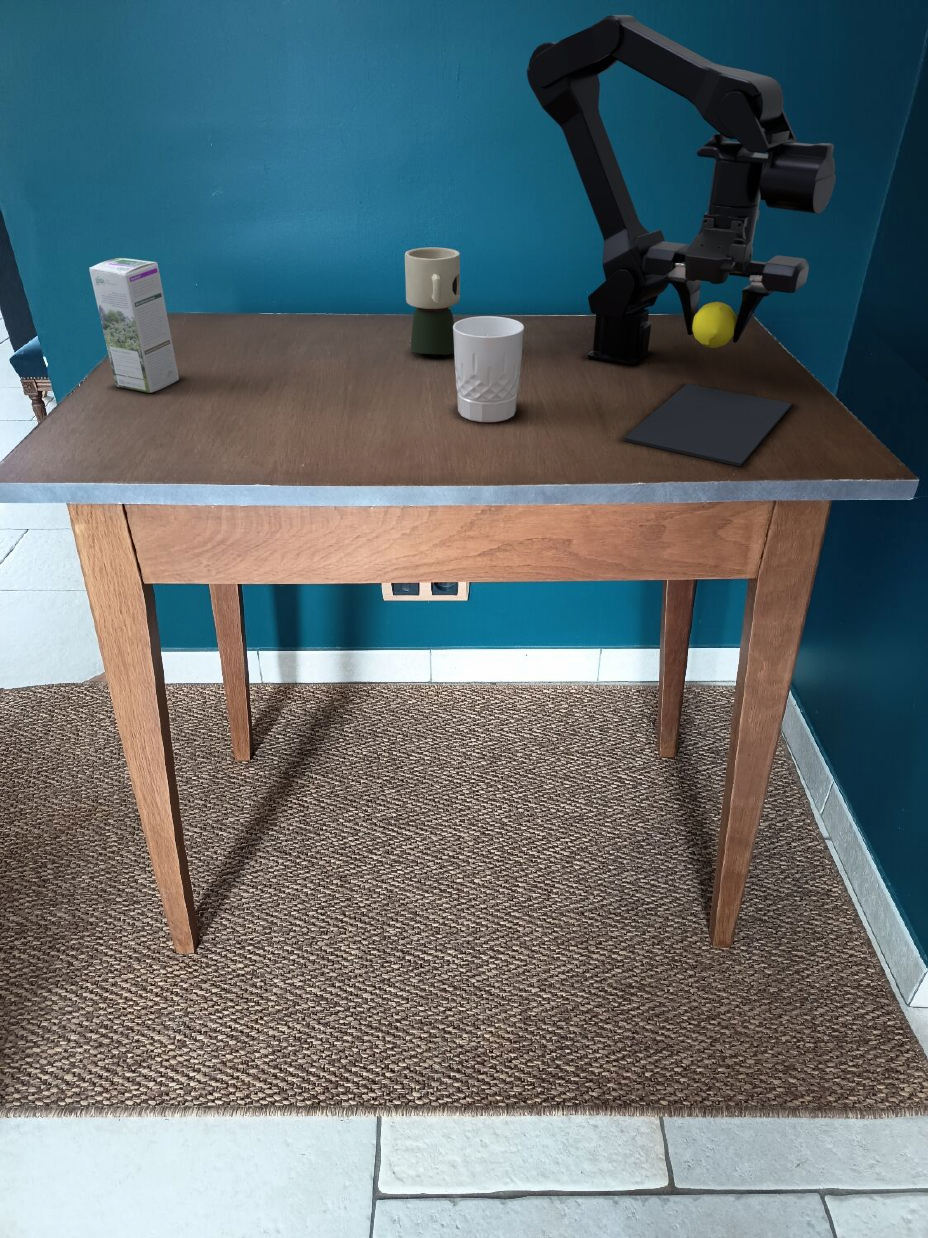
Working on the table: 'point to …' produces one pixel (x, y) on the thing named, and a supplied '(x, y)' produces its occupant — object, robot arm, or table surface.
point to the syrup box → (135, 323)
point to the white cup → (487, 367)
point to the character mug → (432, 297)
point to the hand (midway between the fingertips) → (712, 337)
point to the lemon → (714, 324)
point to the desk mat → (710, 424)
